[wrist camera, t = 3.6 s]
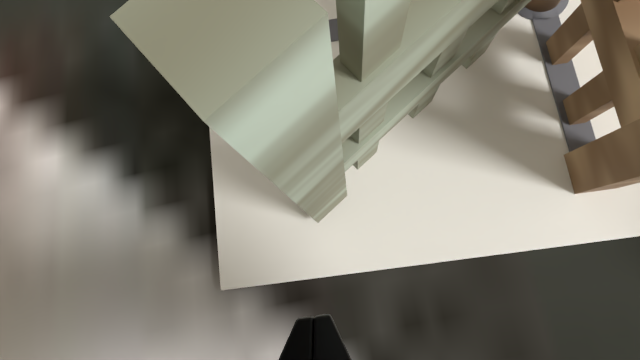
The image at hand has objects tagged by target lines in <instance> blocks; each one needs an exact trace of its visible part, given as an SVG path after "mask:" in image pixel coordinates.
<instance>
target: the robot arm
mask: <svg viewBox="0 0 640 360" xmlns="http://www.w3.org/2000/svg"><path fill="white" fill-rule="evenodd" d="M279 360H351V358H350V356H349V354H348V351H347V349H346V347H345V345H344V343H343V341H342V338H341V336H340V334H339V332H338V330H337V327H336V325H335V323H334V321H333V319H332V317H331V315H330V314H324V315H317V316H315V318H314V317H313V316H308V317H300V318H298V319H297V320H296V322H295V324H294V326H293V329H292V331H291V333H290V335H289V338H288V340H287V342H286V344H285V347H284V349H283V351H282V353H281V355H280V358H279Z"/></svg>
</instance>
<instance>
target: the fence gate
mask: <svg viewBox="0 0 640 360" xmlns="http://www.w3.org/2000/svg"><path fill="white" fill-rule="evenodd" d="M530 1H531V0H336V11H337V25H338V39H339V55H338V56H337V57H336V58H335V59H334V60H333V57H332V47H331V38H330V29H329V19H328V12H327V11H325V10H324V9H323V8H322V7H321V6H320V5H319V4H318V3H317V2H316V1H314V0H129V1H128V2H126V3H125V4H124V5H123V6H122V7H120V8H119V9H118V10H117V11H116V12H114V13H113V14H112V15H111V16H110V18H111V19H112V20H113V21H114V22H115V23H116V24H117V25H118V27H119V28H120V29H121V30H122V31H123V32H124V33H125V34H126V35H127V37H128V38H129V39H130V40H131V41H132V42H133V43H134V44H135V46H136V47H137V48H138V49H139V50H140V51H141V52H142V53H143V54H144V56H145V57H146V58H147V59H148V60H149V61H150V62H151V63H152V65H153V66H154V67H155V68H156V69H157V70H158V71H159V72H160V73H161V75H162V76H163V77H164V78H165V79H166V80H167V81H168V82H169V84H170V85H171V86H172V87H173V88H174V89H175V90H176V91H177V92H178V94H179V95H180V96H181V97H182V98H183V99H184V100H185V101H186V103H187V104H188V105H189V106H190V107H191V108H192V109H193V110H194V111H195V113H196V114H197V115H198V116H199V117H200V118H201V119H202V120H203V122H205V123H206V124H207V125H208V126H209V127H210V128H211V129H212V130H214V131H215V132H216V133H217V134H218V135H219V136H220V137H221V138H223V139H224V140H225V141H226V142H227V143H228V144H229V145H230V146H232V147H233V148H234V149H235V150H236V151H237V152H238V153H239V154H241V155H242V156H243V157H244V158H245V159H246V160H247V161H248V162H250V163H251V164H252V165H253V166H254V167H255V168H256V169H257V170H259V171H260V172H261V173H262V174H263V175H264V176H265V177H266V178H268V179H269V180H270V181H271V182H272V183H273V184H274V185H276V186H277V187H278V188H279V189H280V190H281V191H282V192H283V193H285V194H286V195H287V196H288V197H289V198H290V199H291V200H292V201H294V202H295V203H296V204H297V205H298V206H299V207H300V208H301V209H303V210H304V211H305V212H306V213H307V214H308V215H309V216H310V217H312V218H313V219H314V220H315V221H316V222H317V223H319V222H320V221H321V220H322V219H323V218H324V217H325V216H326V215H327V214H328V213H329V212H330V211H331V210H333V209H334V208H335V207H336V206H337V205H338V204H339V203H340V202H341V201H342V200H343V199H344V198H345V197H347V188H346V178H345V172H346V171H347V170H348V169H349V168H350V167H351V166H352V165H353V166H354V167H355V168H356V169H357V170H358V169H359V168H360V167H361V166H362V165H363V164H364V163H366V162H367V161H368V160H369V159H370V158H371V157H372V156H373V155H374V154H375V153H376V152H377V149H378V144H379V140H380V139H381V138H382V137H384V136H385V135H386V134H387V133H388V132H389V131H390V130H391V129H392V128H393V127H394V126H396V125H397V124H398V123H399V122H400V121H401V120H402V119H403V118H404V117H405V116H406V115H407V114H408V115H409V116H410V117H412V118H414V117H415V116H416V115H417V114H419V113H420V112H421V111H422V110H423V109H424V108H425V107H426V106H427V105H428V104H429V103H430V102H432V100H433V98H434V96H435V94H436V92H437V90H438V88H439V86H440V84H441V83H442V82H443V81H444V80H445V79H447V78H448V77H449V76H450V75H451V74H452V73H453V72H454V71H455V70H456V69H457V68H458V67H460V66H461V65H462V66H464V67H465V68H466V69H467V68H468V67H469V66H471V65H472V64H473V63H474V62H475V61H476V60H477V59H478V58H479V57H480V56H481V55H482V54H484V53H485V51H486V50H487V48H488V47H489V45H490V43H491V42H492V40H493V39H494V37H495V36H496V34H497V33H498V31H499V30H500V29H501V28H502V27H503V26H504V25H505V24H506V23H507V22H508V21H510V20H511V19H512V18H513V17H514V16H515V15H516V14H517V13H518V12H519V11H520V10H521V9H523V8H524V7H525V6H526V5H527V4H528V3H529V2H530Z"/></svg>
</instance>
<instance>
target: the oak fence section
mask: <svg viewBox="0 0 640 360" xmlns="http://www.w3.org/2000/svg"><path fill="white" fill-rule="evenodd" d="M560 1H561V0H531V1H530V2H529V3H528V4H527V5H526V6H525V7H526V8H528V9H529V10H532V11H535V12H546V11H549V10H551V9H553V8H555V7H556V6H557V5H558V4H559V2H560ZM580 1H581V4H580V5H579V6H578V7H577V8H576V10H575V11H574V12H573V13H572V14H571V15H570V16H569V17H568V18H567V20H566V21H565V22H564V23H563V24H562V25H561V26H560V27H559V28H558V29H557V31H556V32H555V33H554V34H553V35H552V36H551V37H550V38H549V39H548V41H547V42H546V45H547V48H548V52H549V55H550V58H551V62H552V65H556V64H563V63H568V62H569V61H570V60H571V59H572V58H574V57H575V56H576V55H577V54H578V53H579V52H580V51H581V50H582V49H584V48H585V47H586V46H587V45H588V44H589V43H590V42H591V41H592V40H593V41H594V45H595V48H596V51H597V54H598V57H599V60H600V63H601V66H602V70H603V71H602V72H601V73H599V74H598V75H597V76H595V77H594V78H593V79H591V80H590V81H588V82H587V83H586V84H584V85H583V86H582V87H580V88H579V89H578V90H576V91H575V92H574V93H572V94H571V95H570V96H568V97H567V98H565V99H564V100H563V104H564V107H565V110H566V114H567V117H568V121H569V124H570V125H574V124H580V123H586V122H588V121H590V120H591V119H593V118H595V117H597V116H598V115H600V114H602V113H604V112H605V111H607V110H609V109H611V108H612V107H615V110H616V114H617V117H618V120H619V123H620V126H621V128H619V129H617V130H615V131H613V132H611V133H609V134H607V135H604V136H602V137H600V138H598V139H596V140H594V141H592V142H590V143H588V144H586V145H583V146H581V147H579V148H577V149H575V150H573V151H571V152H569V153H567V154H565V155H564V158H565V162H566V165H567V169H568V172H569V176H570V179H571V183H572V187H573V190H574V194H579V193H587V192H594V191H601V190H608V189H616V188H620V187H624V186H628V185H632V184H636V183H640V0H580Z"/></svg>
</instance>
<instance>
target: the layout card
mask: <svg viewBox="0 0 640 360" xmlns="http://www.w3.org/2000/svg"><path fill="white" fill-rule="evenodd" d="M314 1H316V2H317V3H318V4H319V5H320V6H321V7H322V8H323V9H324V10H325V11H327V12H328V19H329V29H330V38H331V47H332V57H333V60H334V59H335V58H336V57H337V56H338V55H339V39H338V25H337V11H336V0H314ZM580 4H581V1H580V0H561V1H560V2H559V4H558V5H557V6H556V7H555V8H553V9H551V10H549V11H546V12H535V11H532V10H529V9H528V8H526V7H524V8H523V9H521V10H520V11H519V12H518V13H517V14H516V15H515V16H514V17H513V18H512V19H511V20H510V21H508V22H507V23H506V24H505V25H504V26H503V27H502V28H501V29H500V30H499V31H498V33H497V34H496V36H495V37H494V39H493V40H492V42H491V43H490V45H489V47H488V48H487V50H486V51H485V53H484V54H482V55H481V56H480V57H479V58H478V59H477V60H476V61H475V62H474V63H473V64H472V65H471V66H469V67H468V68H467V69H466V68H465V67H464V66H462V65H461V66H460V67H458V68H457V69H456V70H455V71H454V72H453V73H452V74H451V75H450V76H449V77H448V78H447V79H445V80H444V81H443V82H442V83H441V84H440V86H439V88H438V90H437V92H436V94H435V96H434V98H433V100H432V102H430V103H429V104H428V105H427V106H426V107H425V108H424V109H423V110H422V111H421V112H420V113H419V114H417V115H416V116H415V117H414V118H412V117H410V116H409V115H408V114H407V115H406V116H405V117H404V118H403V119H402V120H401V121H400V122H399V123H398V124H397V125H396V126H394V127H393V128H392V129H391V130H390V131H389V132H388V133H387V134H386V135H385V136H384V137H382V138H381V139H380V140H379V144H378V149H377V152H376V153H375V154H374V155H373V156H372V157H371V158H370V159H369V160H368V161H367V162H366V163H364V164H363V165H362V166H361V167H360V168H359V169H358V170H357V169H356V168H355V167H354V166H353V165H352V166H351V167H350V168H349V169H348V170H347V171H346V172H345V178H346V188H347V197H345V198H344V199H343V200H342V201H341V202H340V203H339V204H338V205H337V206H336V207H335V208H334V209H333V210H331V211H330V212H329V213H328V214H327V215H326V216H325V217H324V218H323V219H322V220H321V221H320V222H319V223H317V222H316V221H315V220H314V219H313V218H312V217H310V216H309V215H308V214H307V213H306V212H305V211H304V210H303V209H301V208H300V207H299V206H298V205H297V204H296V203H295V202H294V201H292V200H291V199H290V198H289V197H288V196H287V195H286V194H285V193H283V192H282V191H281V190H280V189H279V188H278V187H277V186H276V185H274V184H273V183H272V182H271V181H270V180H269V179H268V178H266V177H265V176H264V175H263V174H262V173H261V172H260V171H259V170H257V169H256V168H255V167H254V166H253V165H252V164H251V163H250V162H248V161H247V160H246V159H245V158H244V157H243V156H242V155H241V154H239V153H238V152H237V151H236V150H235V149H234V148H233V147H232V146H230V145H229V144H228V143H227V142H226V141H225V140H224V139H223V138H221V137H220V136H219V135H218V134H217V133H216V132H215V131H214V130H212V129H211V128H210V127H209V130H210V144H211V159H212V173H213V187H214V201H215V215H216V230H217V244H218V258H219V272H220V286H221V290H229V289H236V288H244V287H252V286H260V285H267V284H275V283H283V282H290V281H298V280H306V279H313V278H321V277H329V276H337V275H344V274H352V273H360V272H367V271H375V270H383V269H390V268H398V267H406V266H414V265H421V264H429V263H437V262H444V261H452V260H460V259H467V258H475V257H483V256H491V255H498V254H506V253H514V252H521V251H529V250H537V249H544V248H552V247H560V246H568V245H575V244H583V243H591V242H598V241H606V240H614V239H621V238H629V237H637V236H640V183H636V184H632V185H628V186H624V187H620V188H616V189H608V190H601V191H594V192H587V193H579V194H574V190H573V187H572V183H571V179H570V176H569V172H568V169H567V165H566V162H565V158H564V155H565V154H567V153H569V152H571V151H573V150H575V149H577V148H579V147H581V146H583V145H586V144H588V143H590V142H592V141H594V140H596V139H598V138H600V137H602V136H604V135H607V134H609V133H611V132H613V131H615V130H617V129H619V128H621V126H620V123H619V120H618V117H617V114H616V110H615V107H612V108H611V109H609V110H607V111H605V112H604V113H602V114H600V115H598V116H597V117H595V118H593V119H591V120H590V121H588V122H586V123H580V124H574V125H570V124H569V121H568V117H567V114H566V110H565V107H564V104H563V100H564V99H565V98H567V97H568V96H570V95H571V94H572V93H574V92H575V91H576V90H578V89H579V88H580V87H582V86H583V85H584V84H586V83H587V82H588V81H590V80H591V79H593V78H594V77H595V76H597V75H598V74H599V73H601V72H602V71H603V70H602V66H601V63H600V60H599V57H598V54H597V51H596V48H595V45H594V41H593V40H592V41H591V42H590V43H589V44H588V45H587V46H586V47H585V48H584V49H582V50H581V51H580V52H579V53H578V54H577V55H576V56H575V57H574V58H572V59H571V60H570V61H569V62H568V63H563V64H556V65H552V62H551V58H550V55H549V52H548V48H547V45H546V42H547V41H548V39H549V38H550V37H551V36H552V35H553V34H554V33H555V32H556V31H557V29H558V28H559V27H560V26H561V25H562V24H563V23H564V22H565V21H566V20H567V18H568V17H569V16H570V15H571V14H572V13H573V12H574V11H575V10H576V8H577V7H578V6H579V5H580Z"/></svg>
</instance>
